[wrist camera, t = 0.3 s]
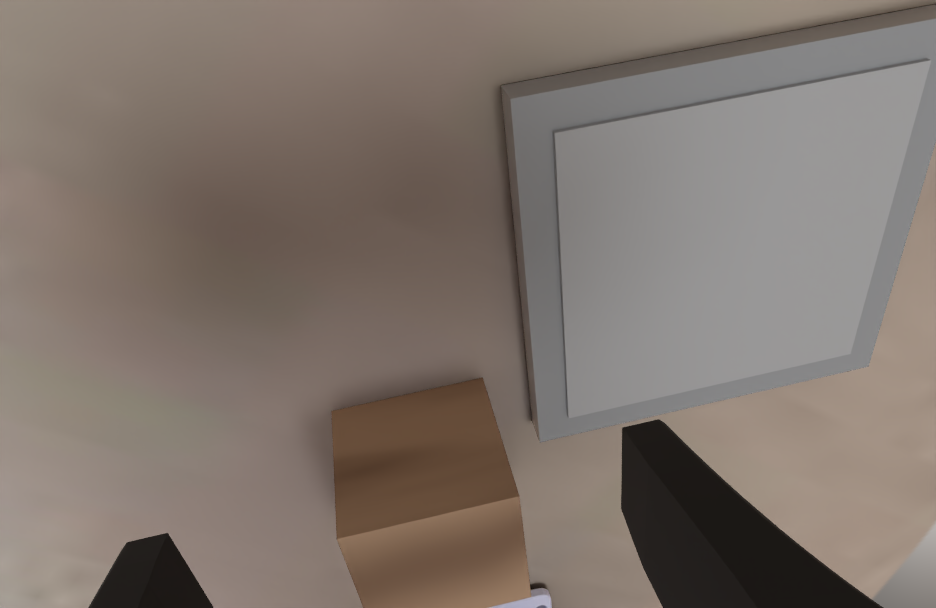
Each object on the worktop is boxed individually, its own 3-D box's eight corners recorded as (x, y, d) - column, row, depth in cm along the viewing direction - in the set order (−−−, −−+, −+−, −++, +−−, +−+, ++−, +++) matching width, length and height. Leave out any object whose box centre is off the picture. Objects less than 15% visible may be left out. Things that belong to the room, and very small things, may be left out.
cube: (496, 474, 26) (531, 597, 22) (363, 505, 25) (374, 635, 21) (482, 376, 23) (519, 496, 19) (331, 409, 22) (336, 538, 18)
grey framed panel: (850, 348, 25) (871, 369, 24) (532, 421, 24) (540, 445, 23) (945, 2, 18) (979, 12, 17) (500, 85, 17) (511, 100, 16)
